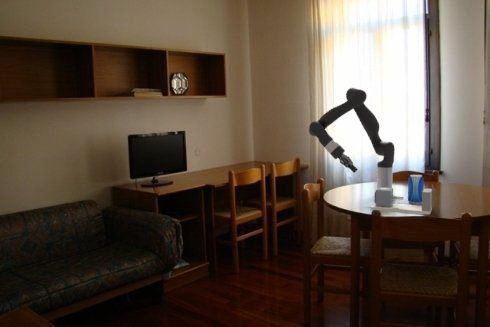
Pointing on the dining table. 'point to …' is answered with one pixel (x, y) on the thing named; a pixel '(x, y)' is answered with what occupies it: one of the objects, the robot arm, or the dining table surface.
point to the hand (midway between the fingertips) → (355, 171)
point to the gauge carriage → (385, 197)
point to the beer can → (415, 189)
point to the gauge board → (422, 209)
